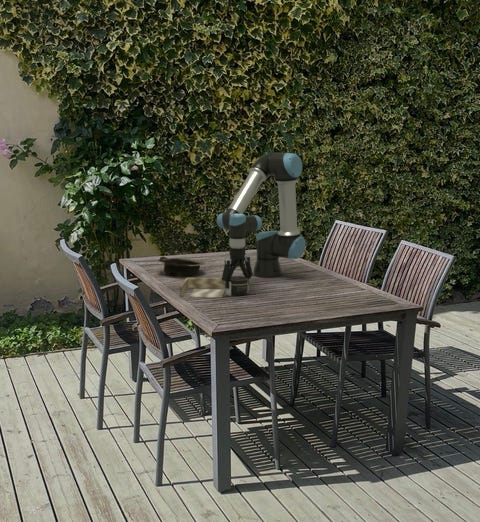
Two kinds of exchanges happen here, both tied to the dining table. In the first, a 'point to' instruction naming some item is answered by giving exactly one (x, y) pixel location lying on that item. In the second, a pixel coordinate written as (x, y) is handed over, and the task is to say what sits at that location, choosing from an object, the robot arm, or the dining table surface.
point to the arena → (210, 284)
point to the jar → (239, 285)
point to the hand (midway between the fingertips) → (237, 293)
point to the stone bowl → (180, 266)
